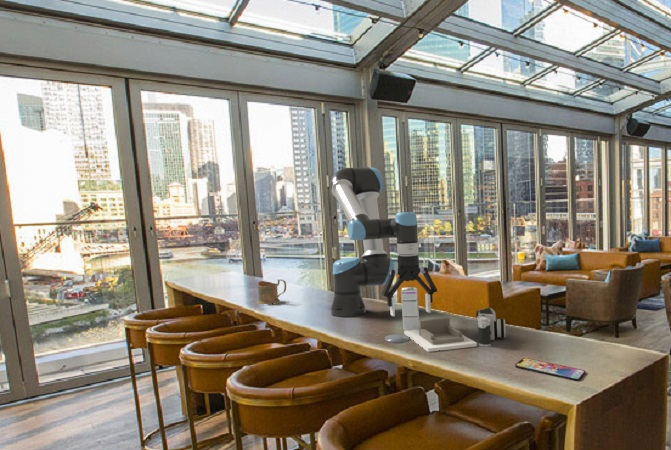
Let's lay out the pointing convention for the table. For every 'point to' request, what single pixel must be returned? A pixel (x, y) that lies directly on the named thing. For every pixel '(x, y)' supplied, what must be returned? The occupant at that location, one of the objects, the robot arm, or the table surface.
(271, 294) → the mug
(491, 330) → the camera
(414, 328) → the syrup box
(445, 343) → the bracket board
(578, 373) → the smartphone
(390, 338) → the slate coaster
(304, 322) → the table surface
